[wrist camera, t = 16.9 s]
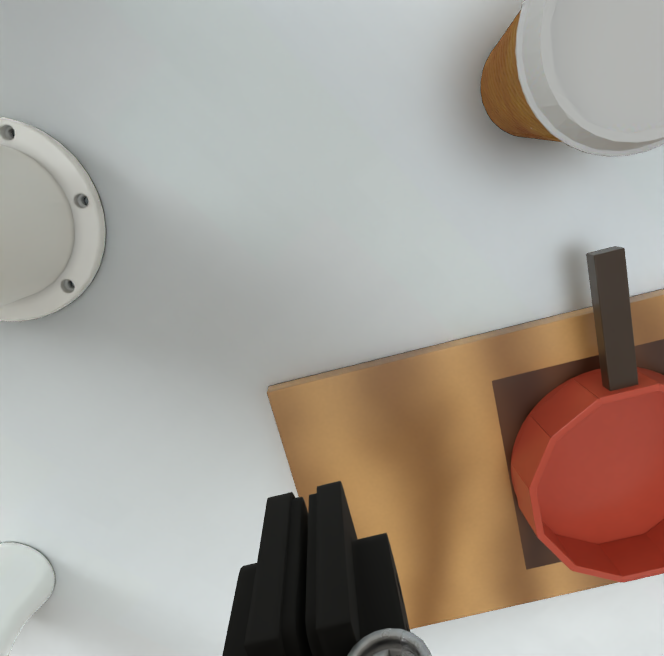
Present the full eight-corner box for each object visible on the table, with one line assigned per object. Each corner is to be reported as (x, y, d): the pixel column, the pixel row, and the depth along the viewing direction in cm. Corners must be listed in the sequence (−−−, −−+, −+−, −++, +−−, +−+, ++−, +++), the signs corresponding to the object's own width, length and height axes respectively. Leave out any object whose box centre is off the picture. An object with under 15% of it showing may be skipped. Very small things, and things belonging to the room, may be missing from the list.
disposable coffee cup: (633, 108, 33) (801, 68, 22) (499, 193, 34) (591, 199, 23) (566, -40, 31) (713, -172, 20) (425, 57, 32) (484, -13, 21)
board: (343, 632, 43) (343, 644, 42) (268, 386, 38) (266, 392, 36) (738, 542, 42) (750, 552, 41) (723, 273, 36) (736, 276, 35)
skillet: (526, 559, 40) (547, 599, 37) (473, 271, 35) (493, 282, 31) (710, 517, 40) (752, 553, 36) (689, 217, 34) (737, 221, 30)
